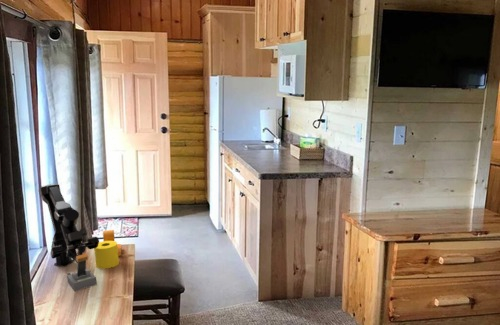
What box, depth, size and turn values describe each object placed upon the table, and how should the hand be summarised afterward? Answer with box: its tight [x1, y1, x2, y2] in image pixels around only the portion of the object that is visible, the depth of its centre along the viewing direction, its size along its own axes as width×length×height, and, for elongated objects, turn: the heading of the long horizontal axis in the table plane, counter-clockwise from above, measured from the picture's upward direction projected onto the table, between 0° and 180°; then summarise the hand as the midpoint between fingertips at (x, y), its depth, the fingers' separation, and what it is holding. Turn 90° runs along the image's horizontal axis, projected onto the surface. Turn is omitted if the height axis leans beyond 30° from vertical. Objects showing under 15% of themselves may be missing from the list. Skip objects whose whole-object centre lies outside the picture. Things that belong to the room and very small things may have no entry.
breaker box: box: [66, 268, 98, 292], centre depth 188 cm, size 10×9×5 cm
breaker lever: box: [76, 253, 89, 277], centre depth 185 cm, size 2×4×11 cm, turn 128°
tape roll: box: [93, 240, 120, 270], centre depth 206 cm, size 10×10×9 cm
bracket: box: [102, 229, 122, 257], centre depth 218 cm, size 11×7×12 cm, turn 14°
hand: (81, 265), depth 185 cm, fingers closed, pressing on breaker lever
